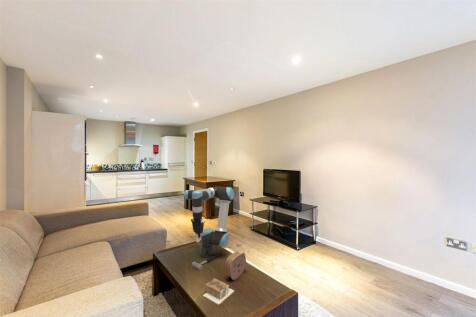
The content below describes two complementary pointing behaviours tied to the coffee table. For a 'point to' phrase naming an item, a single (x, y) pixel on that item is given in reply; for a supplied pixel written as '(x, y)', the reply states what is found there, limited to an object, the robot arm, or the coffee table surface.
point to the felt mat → (216, 300)
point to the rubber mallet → (199, 266)
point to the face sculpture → (235, 265)
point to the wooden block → (217, 288)
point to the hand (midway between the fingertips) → (198, 241)
